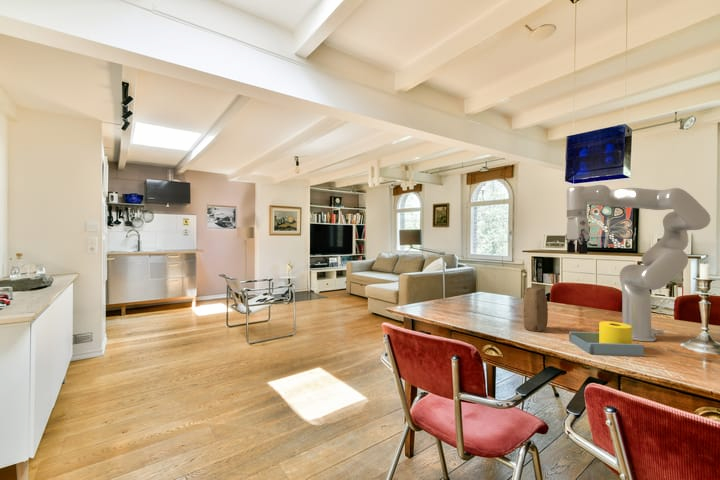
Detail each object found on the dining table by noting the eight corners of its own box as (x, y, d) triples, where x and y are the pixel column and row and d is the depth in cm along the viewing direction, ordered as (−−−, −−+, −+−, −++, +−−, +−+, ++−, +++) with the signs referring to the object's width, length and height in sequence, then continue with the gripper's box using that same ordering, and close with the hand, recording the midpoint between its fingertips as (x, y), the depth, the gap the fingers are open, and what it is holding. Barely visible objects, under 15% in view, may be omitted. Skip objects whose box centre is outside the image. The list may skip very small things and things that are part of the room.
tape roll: (622, 345, 129) (622, 322, 129) (637, 354, 120) (637, 329, 120) (594, 343, 132) (594, 320, 132) (607, 352, 122) (607, 327, 122)
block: (537, 333, 146) (536, 289, 146) (521, 329, 153) (521, 287, 153) (550, 329, 152) (550, 287, 152) (534, 325, 158) (534, 285, 158)
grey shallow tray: (616, 342, 133) (616, 332, 133) (643, 356, 117) (643, 345, 117) (569, 340, 135) (569, 331, 135) (590, 354, 120) (590, 343, 120)
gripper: (597, 212, 133) (597, 254, 133) (575, 215, 150) (575, 252, 150) (578, 213, 134) (578, 254, 134) (558, 216, 151) (558, 252, 151)
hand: (576, 253), depth 142 cm, fingers open, 9 cm apart
